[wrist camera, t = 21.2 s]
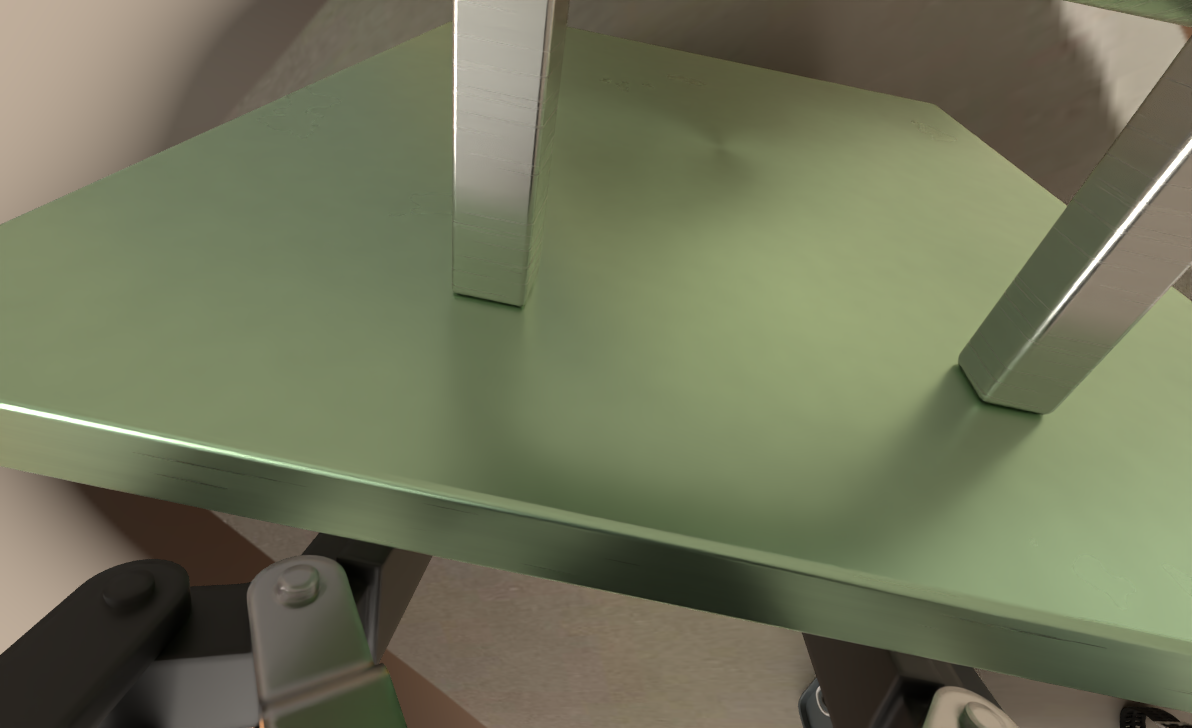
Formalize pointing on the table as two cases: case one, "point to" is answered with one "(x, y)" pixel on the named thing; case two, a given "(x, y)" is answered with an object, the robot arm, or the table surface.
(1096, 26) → the table surface
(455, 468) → the bin lid
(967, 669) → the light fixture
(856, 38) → the table surface
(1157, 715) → the smartwatch
